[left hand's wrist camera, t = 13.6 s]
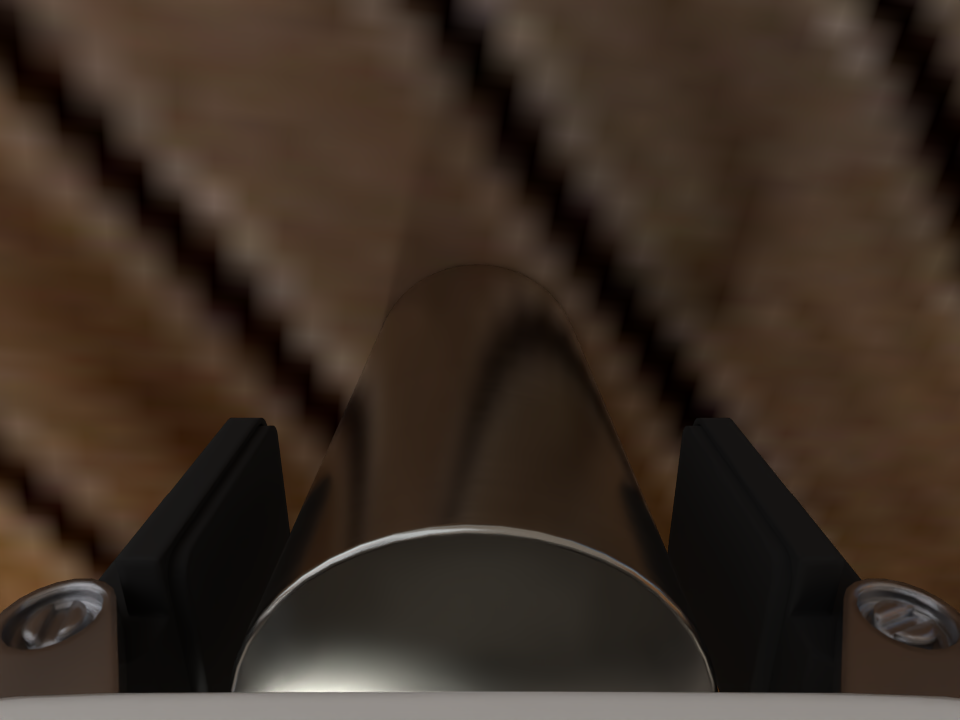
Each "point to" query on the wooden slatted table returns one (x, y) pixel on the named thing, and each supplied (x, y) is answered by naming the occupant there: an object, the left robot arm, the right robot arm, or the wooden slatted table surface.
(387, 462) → the can
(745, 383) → the wooden slatted table surface
